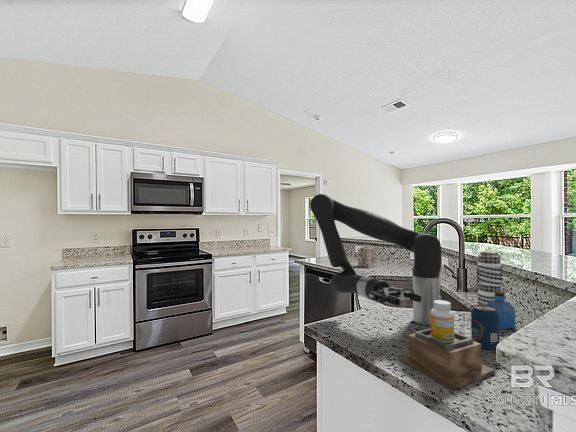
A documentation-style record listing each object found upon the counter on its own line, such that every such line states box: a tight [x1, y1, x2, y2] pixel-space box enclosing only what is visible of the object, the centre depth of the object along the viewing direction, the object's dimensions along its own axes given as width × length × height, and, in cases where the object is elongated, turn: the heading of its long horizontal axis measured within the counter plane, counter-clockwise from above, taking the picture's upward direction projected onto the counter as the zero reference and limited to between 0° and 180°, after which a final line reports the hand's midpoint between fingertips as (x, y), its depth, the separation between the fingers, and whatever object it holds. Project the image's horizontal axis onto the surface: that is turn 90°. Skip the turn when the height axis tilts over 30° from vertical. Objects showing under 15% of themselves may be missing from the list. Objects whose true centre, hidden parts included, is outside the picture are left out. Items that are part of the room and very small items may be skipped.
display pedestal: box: [397, 327, 496, 391], centre depth 74 cm, size 16×16×8 cm
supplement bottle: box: [430, 299, 455, 343], centre depth 74 cm, size 5×5×10 cm
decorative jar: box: [357, 244, 378, 268], centre depth 239 cm, size 12×12×18 cm
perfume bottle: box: [487, 290, 516, 330], centre depth 103 cm, size 6×6×12 cm
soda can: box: [470, 304, 501, 353], centre depth 85 cm, size 7×7×12 cm
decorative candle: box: [476, 250, 504, 306], centre depth 118 cm, size 9×9×25 cm
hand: (410, 300), depth 84 cm, fingers open, 8 cm apart
